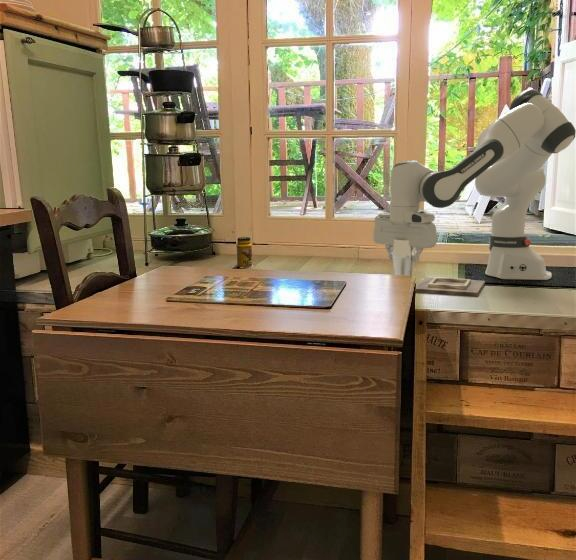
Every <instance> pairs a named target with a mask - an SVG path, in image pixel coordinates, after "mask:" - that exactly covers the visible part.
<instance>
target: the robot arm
mask: <svg viewBox="0 0 576 560" xmlns="http://www.w3.org/2000/svg"><path fill="white" fill-rule="evenodd" d="M575 138H576V128H575V126H574V125H573V123H572V122H571V121H569V120H568V119H567V117H566V116H565V115H564V113H563V112H562V111H561V110H560V108H558V107H557V106H555V104H553V102H552V101H550V100H549V99H547V98H546V97H544V96H543V93H542V92H539V91H538V90H537V89H534V88H532V89H531V88H530V89H525V90H523V91H521V92H520V93H519V94H517V95H516V96H515V98H513V100H512V101H511V102H510V104H509V110H508V111H507V112H505V113H503V114H502V115H500V116H499V117H497V118H496V119H495V120H494V121H492V122H491V123H490V124H488V125H487V127H485V128H484V129H483V130H482V131H481V132H480V133H479V136H478V138H477V145H476V147H475V149H474V150H473V151H472V152H471V153H469V155H467V156H466V157H464V159H462V160H461V161H459V162H458V163H456V164H455V166H453V167H451V168H450V169H447V170H445V171H437V170H435V169H431V168H430V167H428V166H426V165H423V164H422V163H420V162H419V161H418V160H415V159H412V160H405V161H404V160H403V161H401V162H397V163H395V164H394V165H393V167H392V169H391V172H390V180H389V193H390V202H389V213H387V214H386V213H385V214H383V213H379V214H377V216H375V217H374V228H373V236H372V237H373V238H372V241H373V242H374V244H376V245H377V244H378V245H385V246H384V248H385V250H386V253H387V254H388V260H393V259H392V247H393V239H396V240H409V246H410V247H415V255H414V256H412V261H413V262H414V263H418V262H419V261H420V256H421V255H422V253H423V250H424V249H431V248H432V249H433V248H435V246H436V245H437V239H438V237H437V226H436V225H435V223H434V222H435V218H436V216H435V214H434V213H431V212H428V211H426V210H423V209H422V208H420V204H421V202H426V203H428V204H429V205H431V206H432V207H434V208H437V209H443V208H447V207H449V206H452V205H453V204H454V203H455V202H456V201H457V200H458V198H459V197H460V195H461V193H462V192H463V190H464V188H465V187H467V186H468V184H470V183H471V182H472V181H474V185H475V188H476V191H477V192H478V194H480V195H481V196H485V197H490V198H505V200H504V202H503V204H502V205H501V206H500V207H499V208H497V209H496V210H494V212H493V214H492V217H491V233H490V234H491V235H490V236H489V246H488V247H489V248H488V249H489V257H488V261H487V267H486V269H485V272H484V274H485V275H487V276H488V277H489V276H490V277H495V278H499V279H501V280H533V281H535V280H537V281H539V280H540V281H547V280H550V279H551V278H552V275H553V274H552V272H551V271H548V270H547V268H546V262H545V259H544V258H543V256H541V255H540V254H538V252H536V251H535V250H534V249H533V248H531V247H530V244H531V238H529V237H527V236H526V235H525V227H526V217H527V212H528V210H529V206H530V205H531V203H532V201H533V200H534V198H536V196H537V195H538V194H539V193H541V192H542V191H543V189H544V188H545V184H546V175H545V172H544V170H543V169H542V167H543V166H544V165H545V163H547V161H548V159H549V158H550V157H551V156H552V154H559V153H560V152H562V151H565V149H567V148H568V147H569V146H570V145H571V144H572V142H573V141H574V140H575Z"/></svg>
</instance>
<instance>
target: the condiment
mask: <svg viewBox="0 0 576 560" xmlns="http://www.w3.org/2000/svg"><path fill="white" fill-rule="evenodd" d="M236 239H237V241H236V242H237V244H236V262H237V263H236V264H233V265H232V267H244V268H243V269H253V268H254V266H255V264H253V249H252V248H253V247H252V243H251V242H252V241H251V237H250V236H249V237H248V236H240V237H237V238H236ZM250 267H251V268H250Z"/></svg>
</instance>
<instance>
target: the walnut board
mask: <svg viewBox="0 0 576 560" xmlns="http://www.w3.org/2000/svg"><path fill="white" fill-rule="evenodd" d="M485 284H486V281H485V280H481V279H479V280H477V279H476V280H475V279H469V278H457V277H456V278H455V277H454V278H453V277H439V276H438V277H424V278H423V279H422V280H421V281H419V282H418V283H417V284H416V285H415V286H416V292H415V293H420V294H431V295H432V294H433V295H436V294H437V295H450V296H451V295H452V296H465V297H478V296H479V295H480V293H481V291H482V290H483V288H484V286H485Z"/></svg>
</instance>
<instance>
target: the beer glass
mask: <svg viewBox="0 0 576 560" xmlns="http://www.w3.org/2000/svg"><path fill="white" fill-rule="evenodd" d="M391 249H392V259H391V260H392V264H393V271H394V276H395V275H407V276H412V277H413V269H414V265H415V262H413V261H412V256H414V255H415V254H416V250H415V247H410V246H409V240H396V239H393V247H392V248H391Z"/></svg>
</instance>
